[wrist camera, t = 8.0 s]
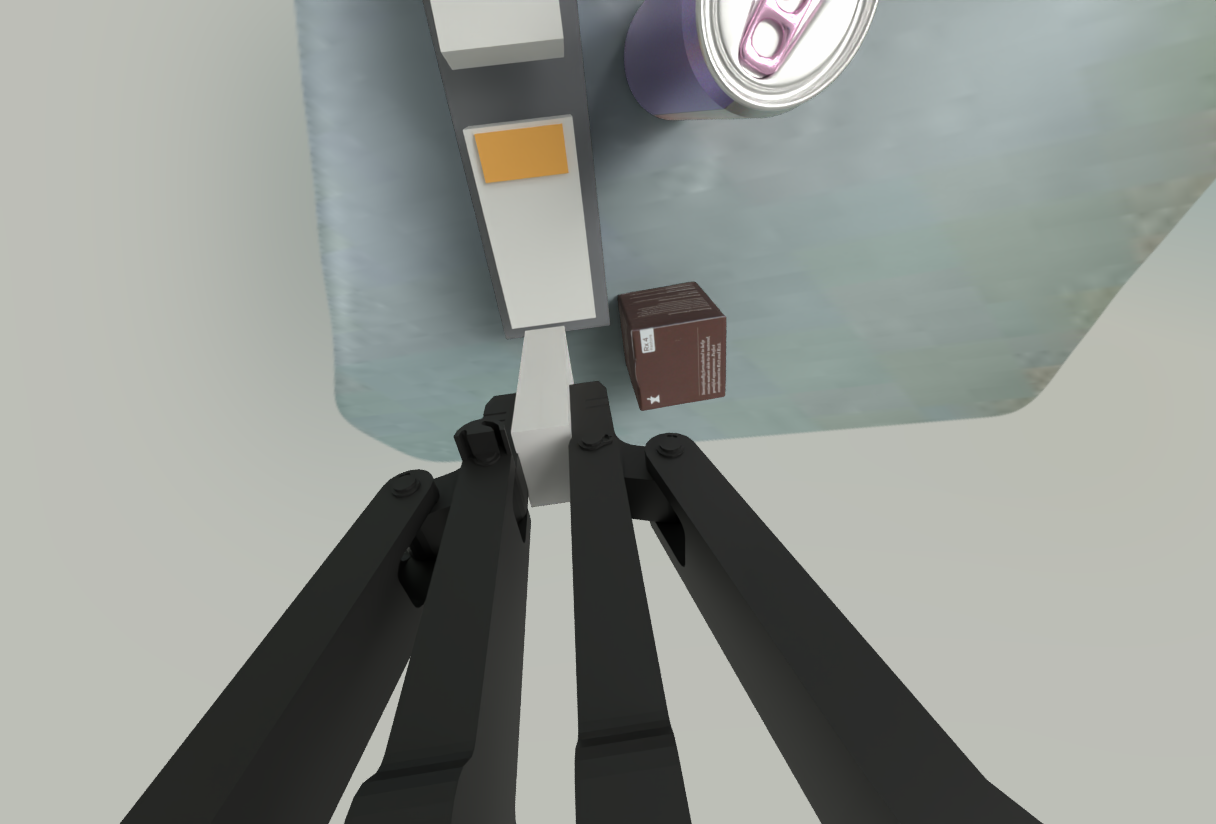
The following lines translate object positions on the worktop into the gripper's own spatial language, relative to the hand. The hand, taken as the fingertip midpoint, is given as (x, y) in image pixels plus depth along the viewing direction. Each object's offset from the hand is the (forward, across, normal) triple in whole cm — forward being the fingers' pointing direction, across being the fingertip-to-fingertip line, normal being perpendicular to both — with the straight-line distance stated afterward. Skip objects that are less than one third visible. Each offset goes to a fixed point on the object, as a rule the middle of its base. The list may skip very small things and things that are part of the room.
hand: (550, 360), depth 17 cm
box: (+16, +7, -6) cm, 19 cm away
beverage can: (+16, +9, +10) cm, 21 cm away
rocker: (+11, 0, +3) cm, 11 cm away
